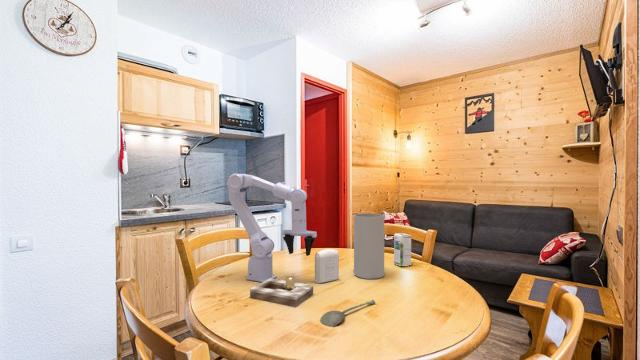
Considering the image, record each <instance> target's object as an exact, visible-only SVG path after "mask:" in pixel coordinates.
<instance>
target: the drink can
mask: <svg viewBox="0 0 640 360" xmlns="http://www.w3.org/2000/svg"><path fill="white" fill-rule="evenodd" d="M393 235H394V236H393V247H394V248H393V265H394V264H397V265H399V266H405V265H411V266H412V234H407V233H404V232H396V233H394V234H393ZM397 265H396V266H397ZM399 266H398V267H399Z"/></svg>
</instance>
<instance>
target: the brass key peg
mask: <svg viewBox="0 0 640 360" xmlns="http://www.w3.org/2000/svg"><path fill="white" fill-rule="evenodd" d="M295 278H296V277H295V276H294V275H293V276H292V275H288V276H285V281H286V290H287V291H291V290H293V289H294V288H295Z"/></svg>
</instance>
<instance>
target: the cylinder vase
mask: <svg viewBox="0 0 640 360" xmlns="http://www.w3.org/2000/svg"><path fill="white" fill-rule="evenodd" d="M353 274H354V276H355V277H358V278H360V279H366V280H377V279H378V280H379V279H380V278H382V277H384V276H385V215H384V214H381V213H372V212H371V213H369V212H368V213H364V212H362V213H355V214H353Z"/></svg>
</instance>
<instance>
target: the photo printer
mask: <svg viewBox="0 0 640 360" xmlns="http://www.w3.org/2000/svg"><path fill="white" fill-rule="evenodd" d="M339 255H340V253H339V251H338V250H337V249H333V248H325V249H321V250H319V251H317V252H316V253H315V255H314V281H315V283H317V284H322V283H326V282H332V281H337V280H339V279H340V256H339Z"/></svg>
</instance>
